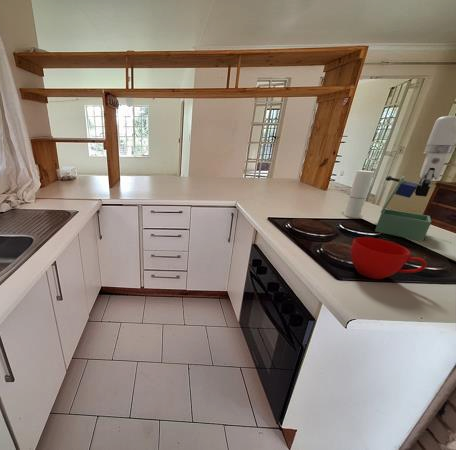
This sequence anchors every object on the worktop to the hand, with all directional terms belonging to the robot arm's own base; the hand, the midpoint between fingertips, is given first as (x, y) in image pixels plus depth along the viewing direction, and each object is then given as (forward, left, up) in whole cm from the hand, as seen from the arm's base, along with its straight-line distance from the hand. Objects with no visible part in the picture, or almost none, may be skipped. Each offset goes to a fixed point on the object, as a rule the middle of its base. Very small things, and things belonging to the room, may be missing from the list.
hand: (420, 194), depth 100 cm
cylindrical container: (+28, -6, -19) cm, 35 cm away
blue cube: (+5, +2, -1) cm, 5 cm away
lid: (+9, +1, -2) cm, 9 cm away
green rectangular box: (+3, -2, -19) cm, 19 cm away
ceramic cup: (-23, +49, -19) cm, 57 cm away
